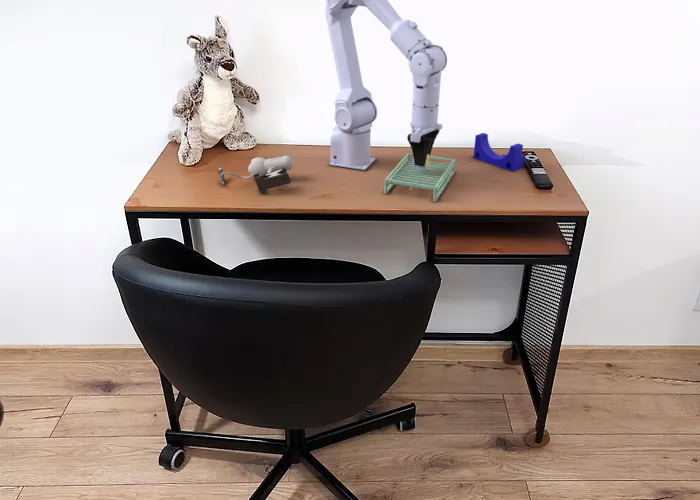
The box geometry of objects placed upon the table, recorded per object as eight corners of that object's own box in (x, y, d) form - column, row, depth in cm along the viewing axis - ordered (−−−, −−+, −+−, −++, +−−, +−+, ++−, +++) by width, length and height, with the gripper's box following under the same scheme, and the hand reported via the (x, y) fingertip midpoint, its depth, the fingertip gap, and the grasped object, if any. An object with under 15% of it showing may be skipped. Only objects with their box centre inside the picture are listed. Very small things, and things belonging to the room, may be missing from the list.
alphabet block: (412, 169, 145) (413, 157, 143) (416, 165, 147) (417, 152, 146) (425, 171, 144) (426, 158, 142) (429, 166, 146) (429, 154, 145)
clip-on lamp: (216, 204, 143) (292, 190, 141) (206, 180, 140) (284, 165, 137) (226, 180, 153) (297, 166, 150) (217, 156, 149) (290, 142, 147)
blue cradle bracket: (523, 166, 157) (526, 143, 154) (512, 171, 154) (515, 147, 151) (484, 153, 164) (486, 131, 161) (473, 157, 162) (475, 135, 159)
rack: (435, 202, 138) (437, 187, 136) (383, 193, 142) (384, 179, 140) (454, 172, 153) (455, 159, 151) (406, 166, 157) (407, 152, 155)
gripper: (435, 115, 131) (430, 176, 138) (451, 97, 143) (446, 154, 150) (402, 111, 133) (399, 171, 140) (421, 94, 145) (417, 150, 152)
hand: (421, 162), depth 145 cm, fingers closed on alphabet block, 3 cm apart
